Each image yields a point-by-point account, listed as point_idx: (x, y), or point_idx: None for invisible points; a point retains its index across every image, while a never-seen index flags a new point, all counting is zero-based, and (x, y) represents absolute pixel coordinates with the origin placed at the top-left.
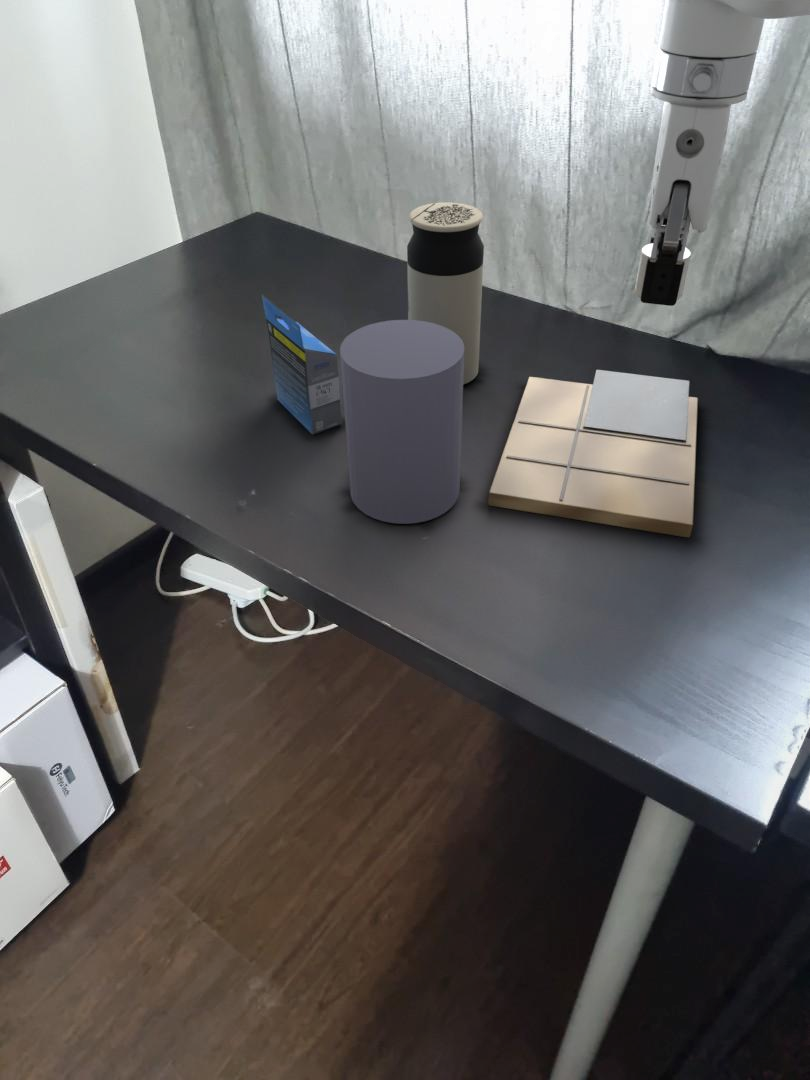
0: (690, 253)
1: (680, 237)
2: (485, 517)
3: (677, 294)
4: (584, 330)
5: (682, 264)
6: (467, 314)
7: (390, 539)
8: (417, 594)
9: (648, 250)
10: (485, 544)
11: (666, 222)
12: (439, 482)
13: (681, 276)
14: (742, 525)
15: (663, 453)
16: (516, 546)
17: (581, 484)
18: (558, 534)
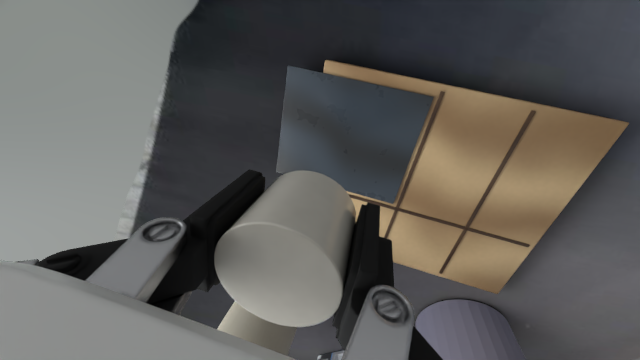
0: (280, 227)
1: (186, 235)
2: (509, 287)
3: (379, 217)
4: (180, 157)
5: (376, 276)
6: (277, 332)
7: (522, 343)
8: (604, 341)
9: (276, 314)
10: (551, 293)
11: (152, 296)
12: (521, 352)
13: (377, 246)
14: (609, 42)
15: (455, 129)
16: (562, 274)
17: (503, 223)
18: (555, 241)
